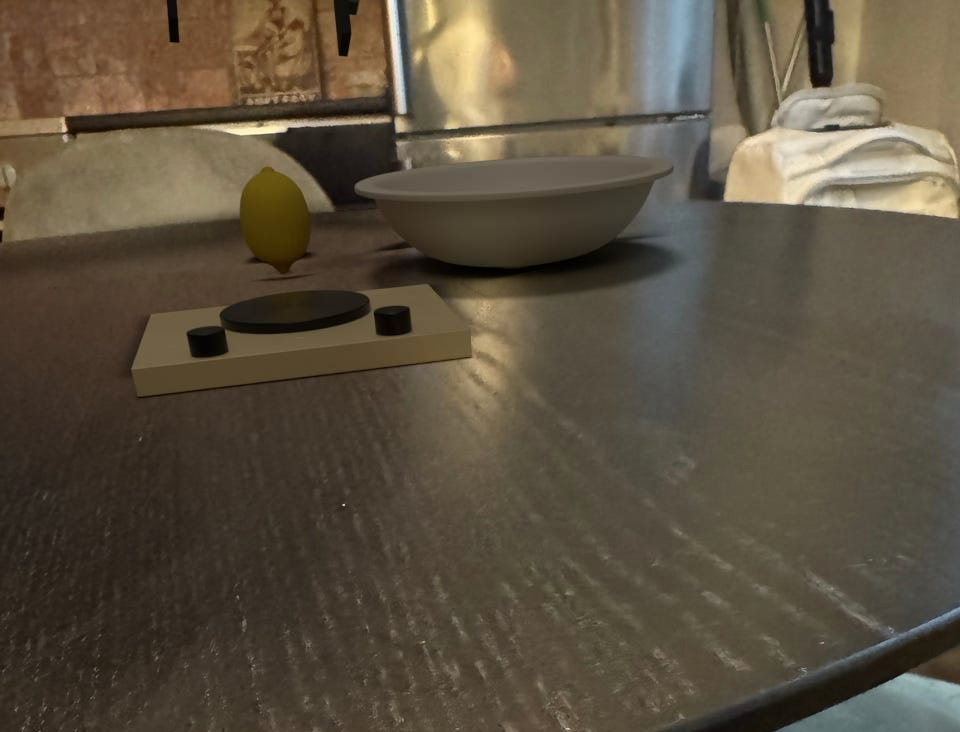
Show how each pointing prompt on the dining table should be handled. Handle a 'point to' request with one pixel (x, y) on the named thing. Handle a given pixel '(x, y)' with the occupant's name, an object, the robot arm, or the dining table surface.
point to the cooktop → (296, 338)
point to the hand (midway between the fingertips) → (261, 38)
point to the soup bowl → (515, 206)
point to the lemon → (275, 219)
